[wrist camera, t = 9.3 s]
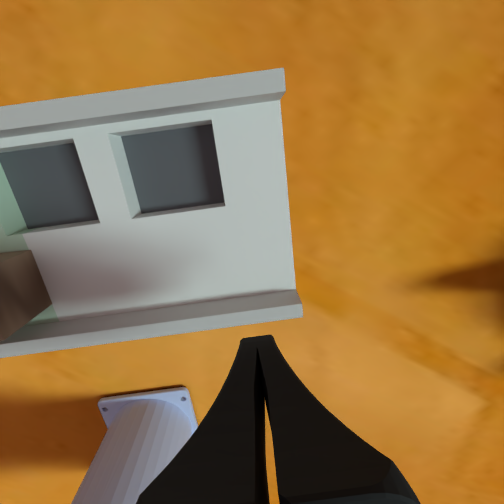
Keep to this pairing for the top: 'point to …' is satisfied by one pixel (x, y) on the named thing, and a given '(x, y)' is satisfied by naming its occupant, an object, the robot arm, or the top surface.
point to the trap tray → (150, 210)
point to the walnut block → (20, 291)
